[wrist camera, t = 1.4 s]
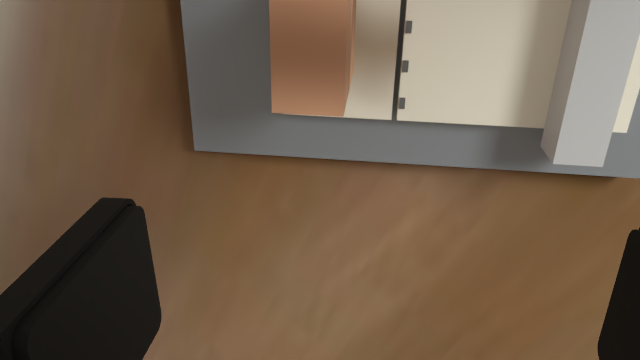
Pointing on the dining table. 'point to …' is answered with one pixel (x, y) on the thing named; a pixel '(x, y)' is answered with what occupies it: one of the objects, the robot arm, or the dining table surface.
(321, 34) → the stub
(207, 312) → the dining table surface
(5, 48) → the dining table surface
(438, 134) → the holder
